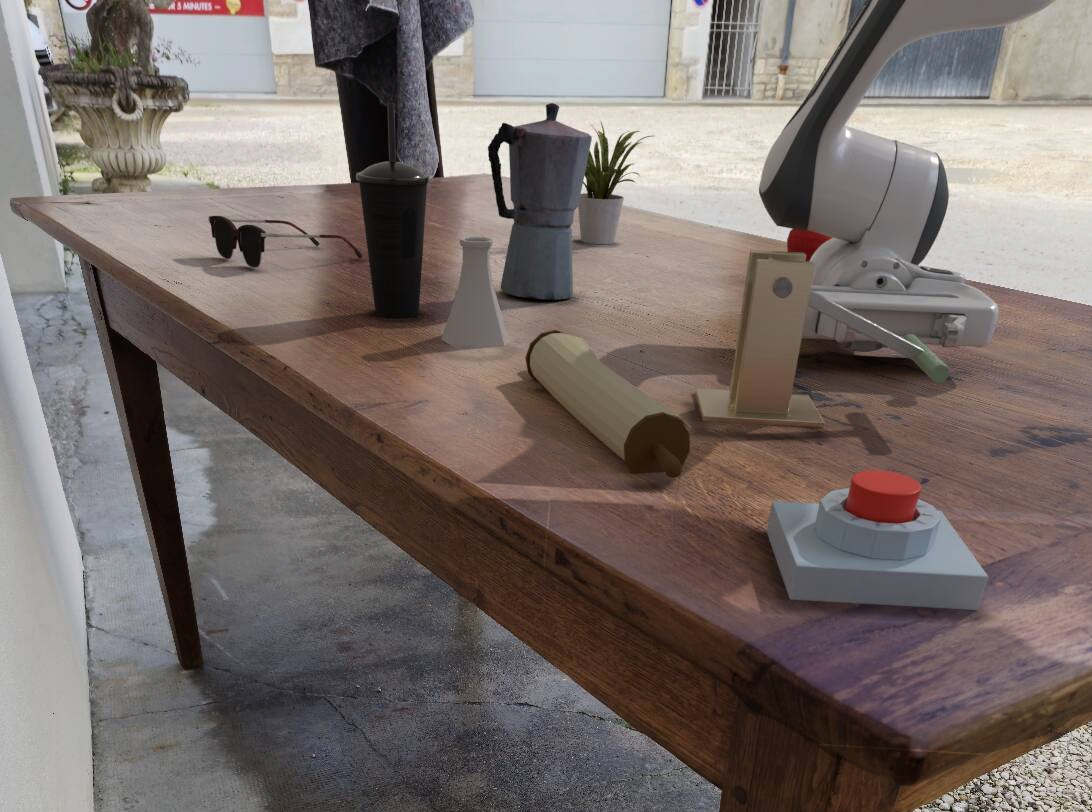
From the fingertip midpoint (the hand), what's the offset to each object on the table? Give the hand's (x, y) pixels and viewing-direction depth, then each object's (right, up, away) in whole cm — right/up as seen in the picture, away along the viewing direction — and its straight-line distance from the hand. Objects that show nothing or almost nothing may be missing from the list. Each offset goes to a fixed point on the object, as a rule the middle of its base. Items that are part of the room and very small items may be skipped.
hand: (901, 335), depth 93 cm
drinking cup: (-48, +12, +24) cm, 55 cm away
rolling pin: (-28, -11, -7) cm, 31 cm away
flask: (-39, +4, +13) cm, 41 cm away
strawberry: (+3, +24, +45) cm, 51 cm away
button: (-12, -23, -30) cm, 40 cm away
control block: (-12, -26, -28) cm, 40 cm away
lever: (-8, -3, -8) cm, 11 cm away
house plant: (-21, +42, +68) cm, 83 cm away
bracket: (-14, -8, -3) cm, 17 cm away
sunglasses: (-66, +29, +48) cm, 86 cm away
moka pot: (-33, +18, +34) cm, 51 cm away
